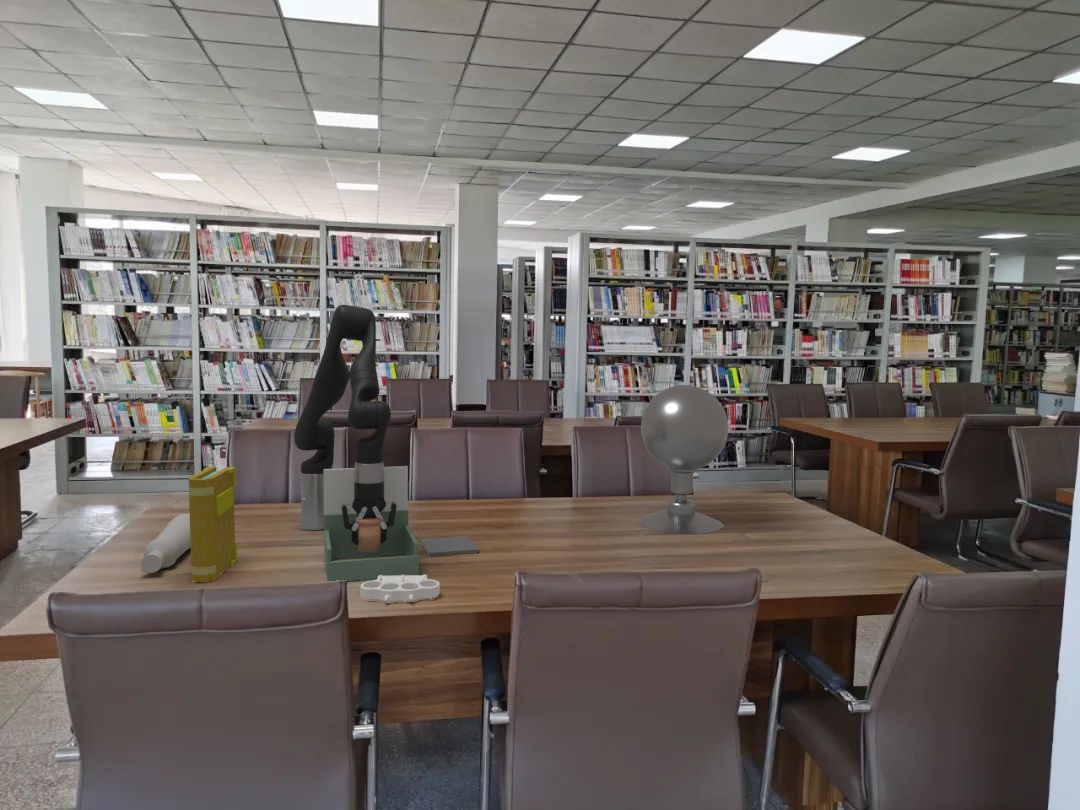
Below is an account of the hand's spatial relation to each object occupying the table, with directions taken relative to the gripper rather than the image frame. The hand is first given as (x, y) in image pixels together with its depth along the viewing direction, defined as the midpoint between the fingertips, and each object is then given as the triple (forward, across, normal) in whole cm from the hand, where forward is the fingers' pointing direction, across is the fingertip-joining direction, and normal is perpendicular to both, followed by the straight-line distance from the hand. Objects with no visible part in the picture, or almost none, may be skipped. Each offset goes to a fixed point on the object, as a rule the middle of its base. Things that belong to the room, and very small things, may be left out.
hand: (369, 543), depth 192 cm
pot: (+1, 0, 0) cm, 1 cm away
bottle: (+7, +49, -19) cm, 53 cm away
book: (+7, +38, -6) cm, 39 cm away
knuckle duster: (+7, -5, +22) cm, 24 cm away
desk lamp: (+6, -101, -21) cm, 104 cm away
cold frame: (+6, 0, 0) cm, 6 cm away
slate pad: (+6, -23, -12) cm, 27 cm away
